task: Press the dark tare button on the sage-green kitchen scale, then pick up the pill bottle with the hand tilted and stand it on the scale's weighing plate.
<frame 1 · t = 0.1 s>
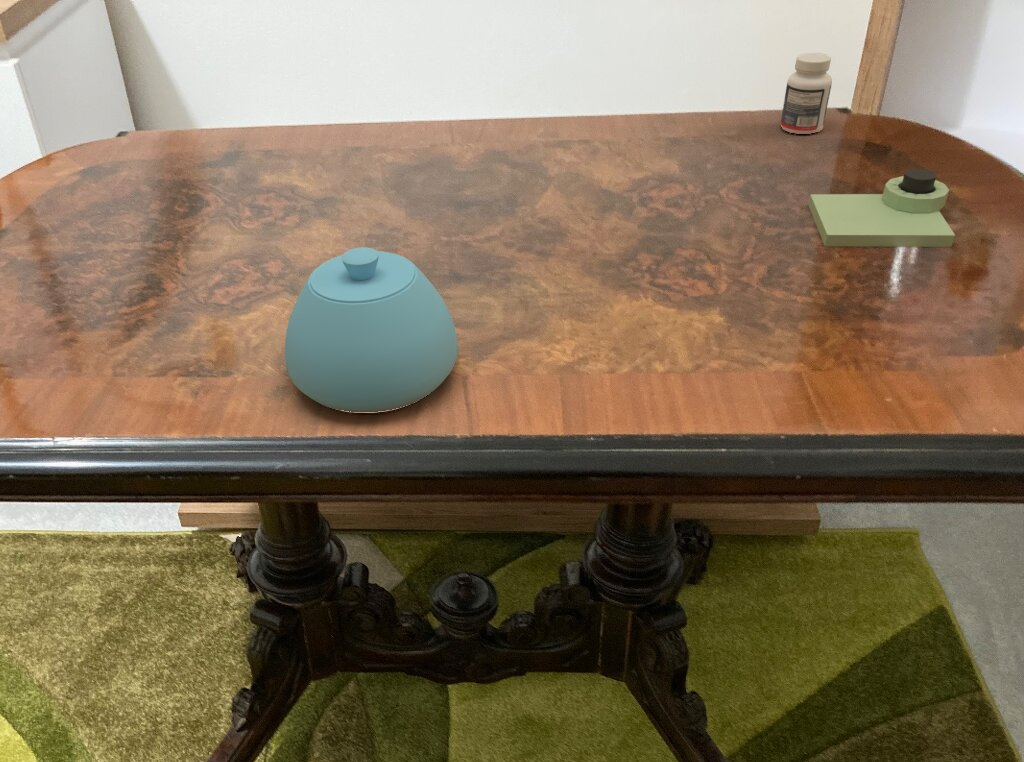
pill bottle: (800, 130, 119), on the table
scale: (876, 226, 96), on the table
sugar bowl: (374, 375, 81), on the table
tare button: (918, 181, 96), point 4 cm above the table, slide at 0.2 cm
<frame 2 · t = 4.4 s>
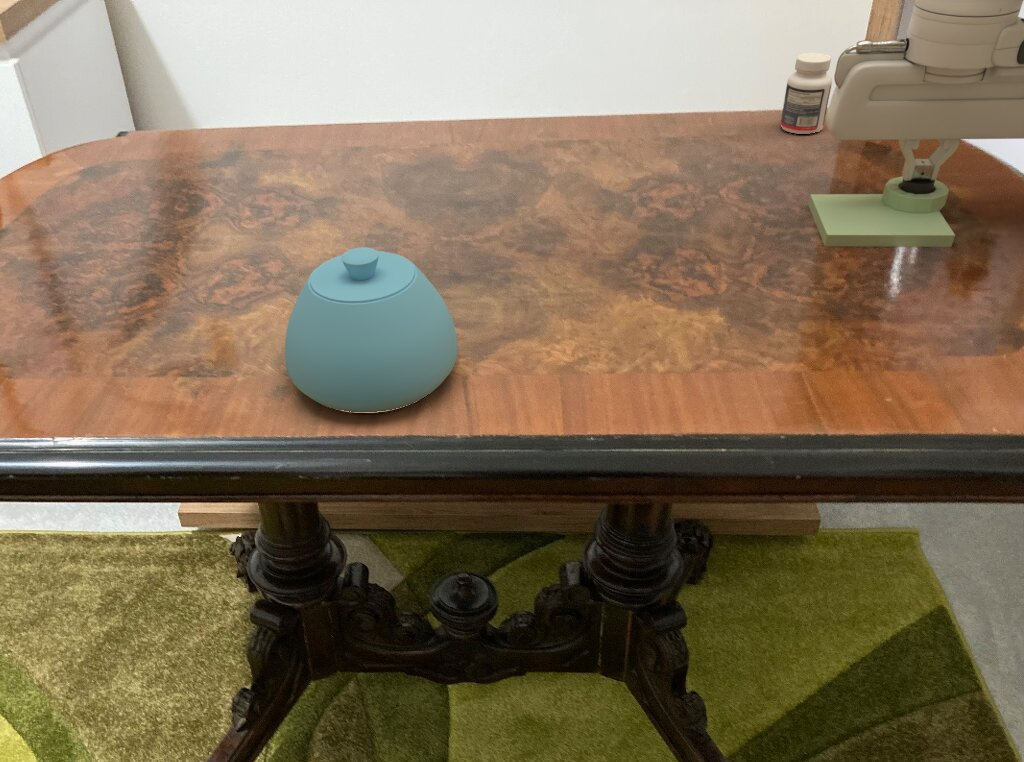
hand: (918, 178, 96), 4 cm above the table, tool pointing down, fingers closed, pressing on tare button
tare button: (917, 186, 96), point 3 cm above the table, slide at -0.4 cm, touching gripper
everything else where it was.
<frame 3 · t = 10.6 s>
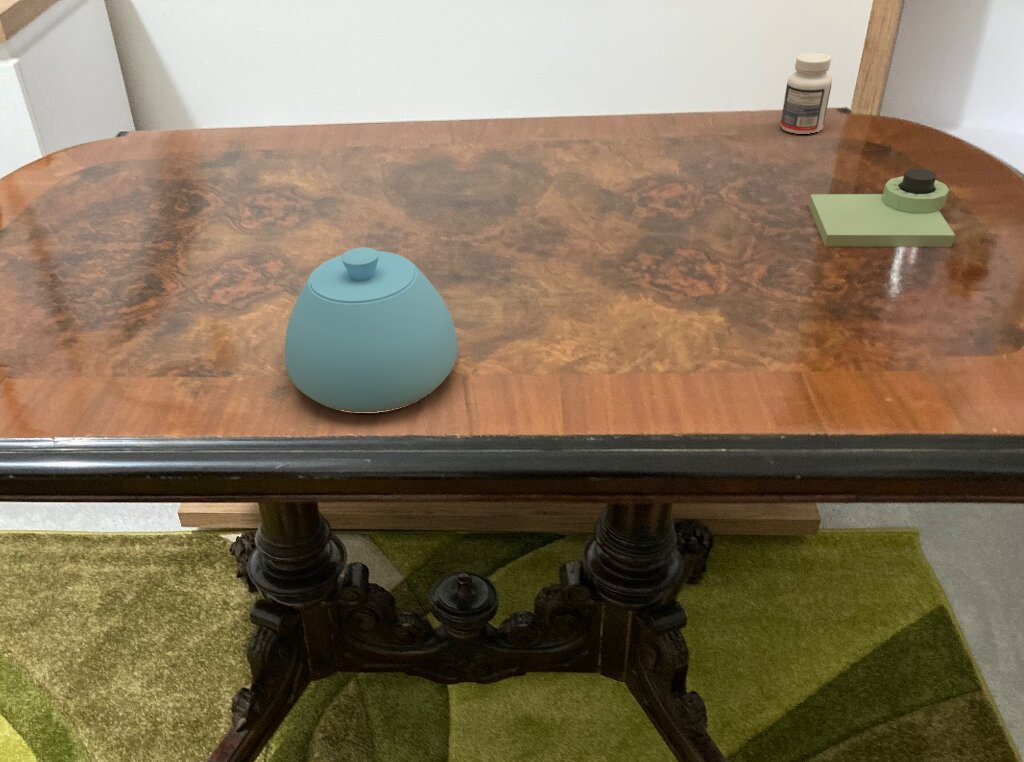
tare button: (918, 182, 96), point 4 cm above the table, slide at 0.2 cm
everything else where it was.
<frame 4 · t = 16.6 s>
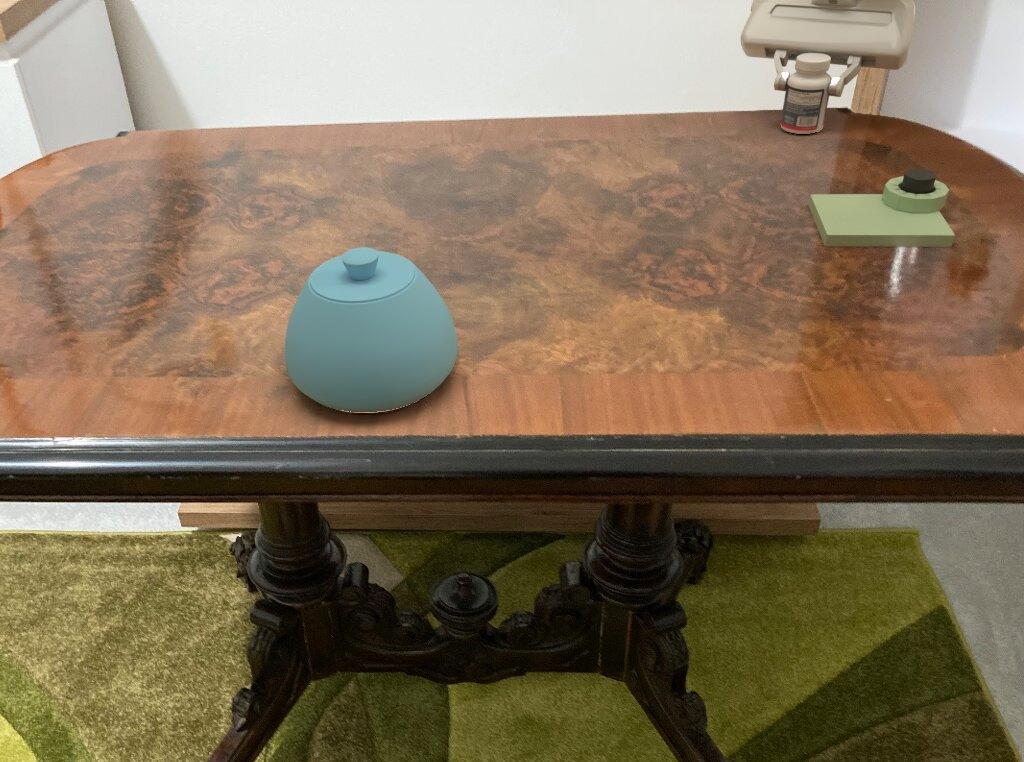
hand: (806, 91, 116), 5 cm above the table, tool tilted 45°, fingers closed on pill bottle, 5 cm apart
pill bottle: (800, 130, 119), on the table, touching gripper
everything else where it was.
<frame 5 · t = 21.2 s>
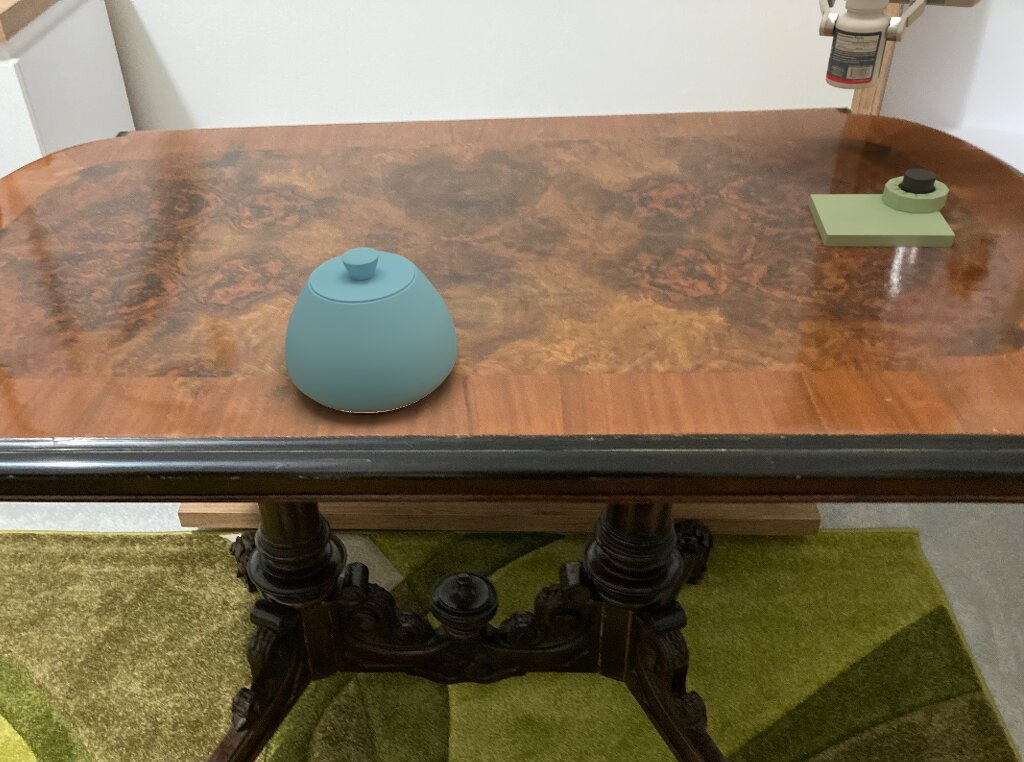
hand: (859, 35, 95), 16 cm above the table, tool tilted 45°, fingers closed on pill bottle, 5 cm apart
pill bottle: (850, 84, 99), point 11 cm above the table, touching gripper
everything else where it was.
when the fingers open (6 cm above the table, at t = 26.2 s): pill bottle stays where it is, resting on scale.
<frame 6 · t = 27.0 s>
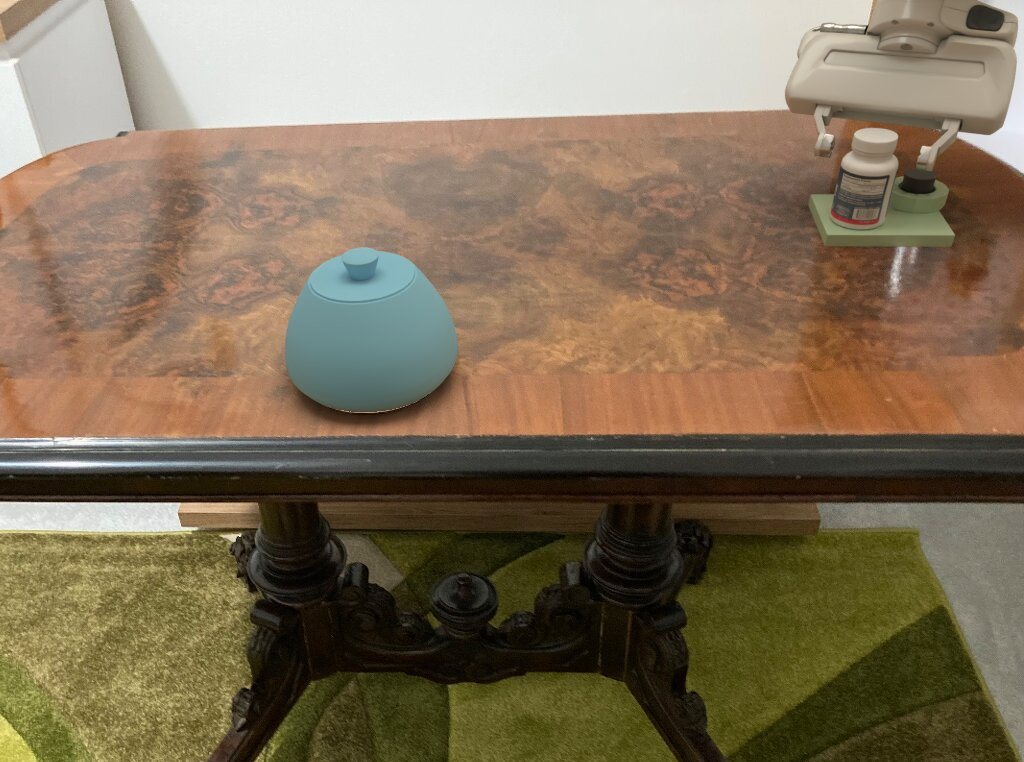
hand: (871, 161, 91), 8 cm above the table, tool tilted 45°, fingers open, 8 cm apart
pill bottle: (856, 221, 95), point 1 cm above the table, touching scale
everything else where it was.
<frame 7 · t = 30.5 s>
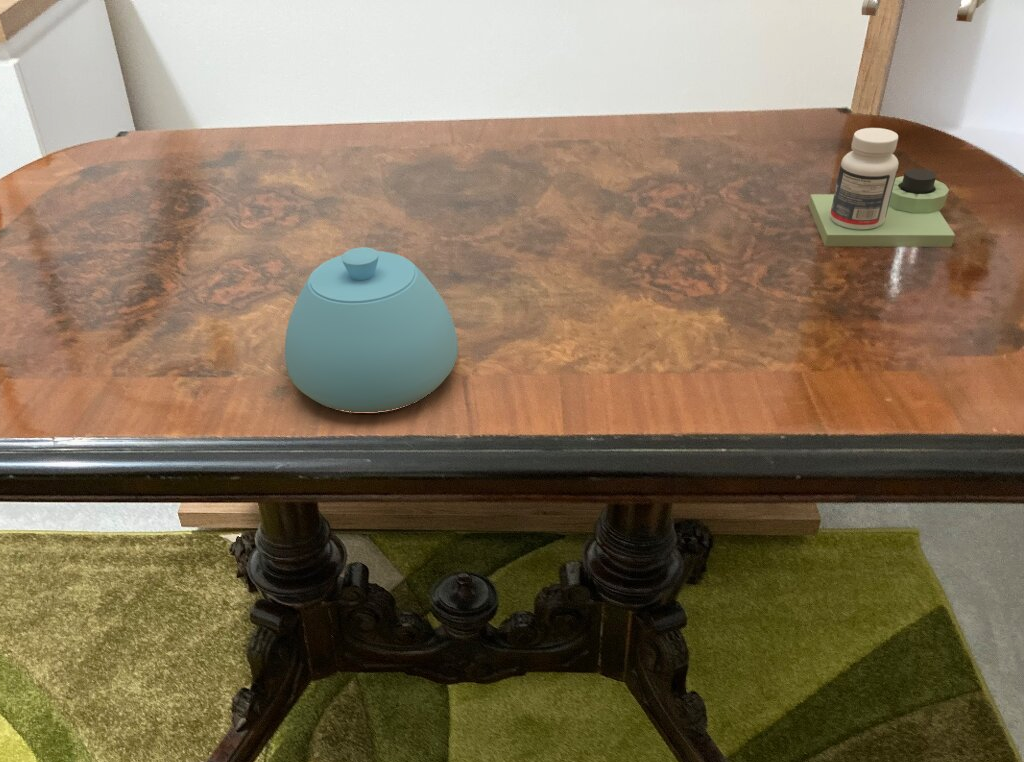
hand: (915, 15, 99), 16 cm above the table, tool tilted 45°, fingers open, 8 cm apart
nothing on the table moved.
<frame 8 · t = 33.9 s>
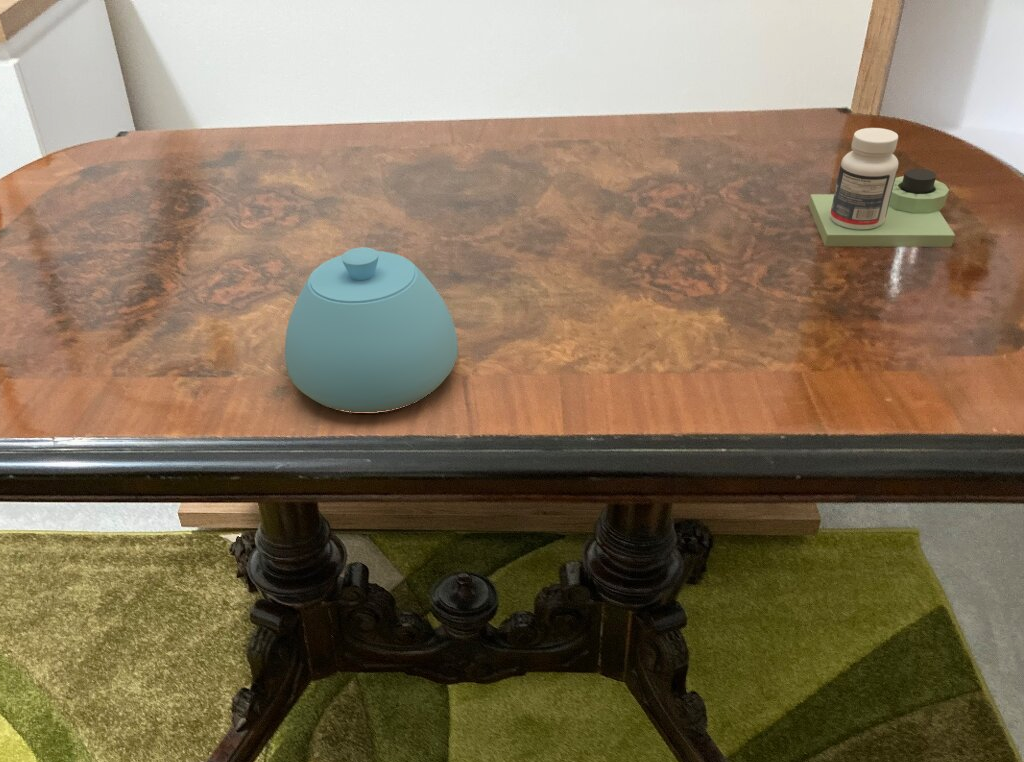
nothing on the table moved.
at the end: tare button pushed in 0.8 cm at the most during the clip, back to 0.2 cm at the end; pill bottle inside the target area on the scale (2.9 cm from its centre), point 1.2 cm above the scale's base; pill bottle touching scale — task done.
